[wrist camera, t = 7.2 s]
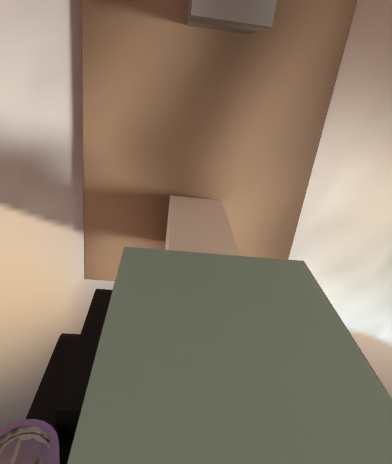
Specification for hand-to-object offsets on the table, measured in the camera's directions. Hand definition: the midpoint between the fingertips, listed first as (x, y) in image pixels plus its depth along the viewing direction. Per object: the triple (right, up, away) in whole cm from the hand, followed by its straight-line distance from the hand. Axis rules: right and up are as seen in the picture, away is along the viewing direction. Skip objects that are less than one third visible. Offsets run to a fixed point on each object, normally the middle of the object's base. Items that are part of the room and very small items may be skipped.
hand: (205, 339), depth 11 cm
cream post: (0, +4, +8) cm, 9 cm away
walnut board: (0, +8, +6) cm, 11 cm away
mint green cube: (0, 0, +1) cm, 1 cm away
